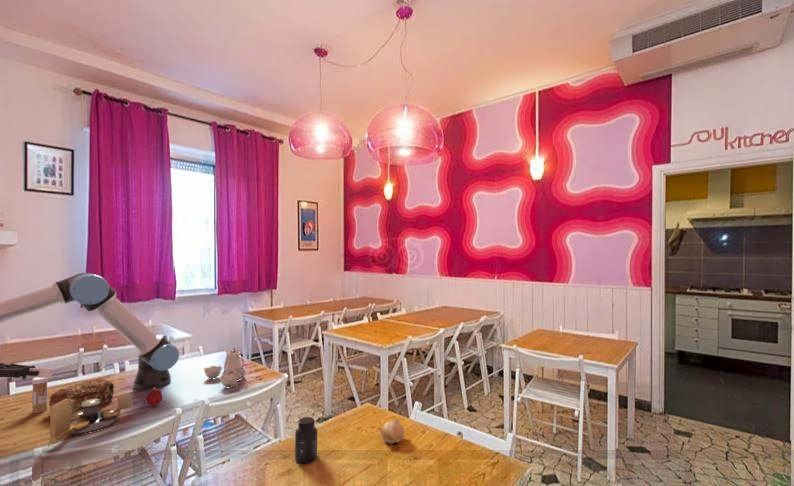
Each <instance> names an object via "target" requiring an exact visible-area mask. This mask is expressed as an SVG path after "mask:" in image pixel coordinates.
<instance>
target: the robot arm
mask: <svg viewBox="0 0 794 486" xmlns="http://www.w3.org/2000/svg"><path fill="white" fill-rule="evenodd" d="M71 302H77V303H78V304H79V305H80V306H82V307H83V309H85V310H86V311H87V312H89V313H96V314H97V315H99V316H100V317H101V318H102V319H103V320H105V322H106V323H108V324H109V325H110V326H111V327H112V328H113V329H115V331H117V332H118V333H119V334H120V335H121V336H123V338H125V339H126V341H128V342H129V343H130V344H131V345H132V346H134V347H135V348H136V349H137V355H138V356H137V360H138V361H137V367H138V368H137V372H136V374H135V377H134V380H133V384H132V385H133V387H132V388H133V389H135V390H143V391H144V390H153V388H154V387H155V388H156V389H157V388H160V387H164V386H166V385H169V384H170V383H171V381H172V379H171V378H172V376H171V373H170V371H169V369H171V368H173V367H174V366H175V365H176V364H177V362H178V361H179V357H180V350H179V349H178V347H177V346H175V344H172V343H171V342H170V341H168V336H167V335H166V334H155V332H153V331H152V330H151V329H150V328H149V326H147V325H146V324H145V323H144V322H143V321H141V319H140V318H138V316H137V315H135V314H134V313H133V312H132V311H131V310H130V309H129V308H128V307H127V306H126V305H125V304H123V303H122V302H121V301H120V300H119V299H118V298H117V291H116V290H115V289H114V288H113V287H111V285H109V283H108V281H107V280H106V279H105V278H104V277H102V276H101V275H99V274H95V273H89V272H81V273H78V274H74V275H72V276H69V277H67V278H63V280H59V281H56V282H53V284H52V285H51V286H48V287H45V288H42V289H38V290H35V291H33V292H29V293H26V294H23V295H19V296H16V297H12V298H9V299H7V300H3V301H1V302H0V324H1V323H5V322H7V321H10V320H13V319H17V318H20V317H22V316H25V315H29V314H32V313H34V312H37V311H40V310H43V309H45V308H48V307H52V306H54V305H57V304H64V305H66V304H68V303H71ZM54 370H55V369H53V368H42V367H41V368H40V367H39V368H38V367H36V366H35V364H34V365H26V364H25V365H24V364H17V363H14V362H11V363H8V364H7V363H3V362H0V378H15V379H16V378H17V379H19V378H21V379H22V380H26V379H27V378H36V377H38V378H48V379H51V378H53V374H54Z"/></svg>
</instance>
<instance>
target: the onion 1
mask: <svg viewBox="0 0 794 486" xmlns="http://www.w3.org/2000/svg"><path fill="white" fill-rule="evenodd" d="M162 400H163V393H162V391H161V390H159V389H157V388H155V387H154V388H153V389H151V390H150V391H149V392H148V393H147V395H146V397H145V402H146V404H147V405H149V406H150V407H152V408H155V407H157V406H158V405H159V404H160V403H161V402H162Z"/></svg>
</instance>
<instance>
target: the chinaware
mask: <svg viewBox="0 0 794 486" xmlns="http://www.w3.org/2000/svg"><path fill="white" fill-rule="evenodd" d="M225 351H226V356H225V360H224V365H223V366H222V365H219V366H217V365H212V366H209V367H204V368H203V372H204V373H205V376H206V377H207V378H208V379H210V378H211V379H213V378H216V379H217V378H218V377H219V378H218V379H219V380H220V382H221V384H222V386H223V387H225V388H226V387H231V386H232V387H233V388H234V387H237V386H238V382H237V380H239V379H241V378H243V379H244V377H245V376H246V371H245V369H244V367H245V360H244V357H243V356H241V355H242V354H241V353H242V351H239V350H238V349H237V348H236V347H233V348H232V349H231V350H230V351H229V350H228V349H227V350H225ZM223 369H224V370H223ZM222 370H223V372H222V375H221V376H220V374H221V371H222Z"/></svg>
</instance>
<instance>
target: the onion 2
mask: <svg viewBox="0 0 794 486" xmlns="http://www.w3.org/2000/svg"><path fill="white" fill-rule="evenodd" d="M380 434H381V438H382V439H383V440H384V442H386V443H387V444H391V445H394V443H397V444H398V443H400V442H401V441H402V440H403V438H404V436H405V428H404V426H403V424H402V423H400V422H399V420H398V419H396V418H394V420H393V421H392V420H390V421H387V422H385V423H384V424H383V425H382V427H381V430H380Z"/></svg>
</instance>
